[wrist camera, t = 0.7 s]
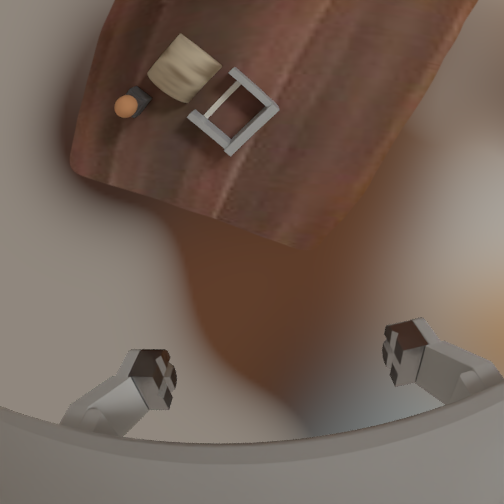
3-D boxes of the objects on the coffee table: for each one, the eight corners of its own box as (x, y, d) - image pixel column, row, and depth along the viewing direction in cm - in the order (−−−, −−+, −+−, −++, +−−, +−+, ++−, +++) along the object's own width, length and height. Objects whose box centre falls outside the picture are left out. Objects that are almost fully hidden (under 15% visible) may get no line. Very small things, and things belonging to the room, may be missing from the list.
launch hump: (188, 34, 44) (173, 32, 36) (227, 64, 48) (219, 67, 41) (158, 68, 49) (139, 73, 41) (195, 97, 53) (183, 107, 45)
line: (238, 79, 45) (238, 79, 45) (242, 83, 46) (242, 83, 45) (203, 115, 49) (203, 115, 49) (207, 118, 50) (207, 118, 50)
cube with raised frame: (136, 85, 45) (128, 89, 43) (152, 98, 47) (144, 101, 44) (124, 102, 47) (115, 106, 44) (140, 114, 49) (132, 119, 46)
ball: (128, 88, 43) (118, 92, 40) (145, 101, 44) (136, 106, 41) (116, 106, 45) (106, 111, 41) (132, 118, 46) (123, 125, 43)
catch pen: (235, 66, 44) (232, 68, 41) (278, 105, 48) (279, 110, 45) (190, 113, 49) (185, 118, 46) (232, 149, 53) (230, 156, 50)
